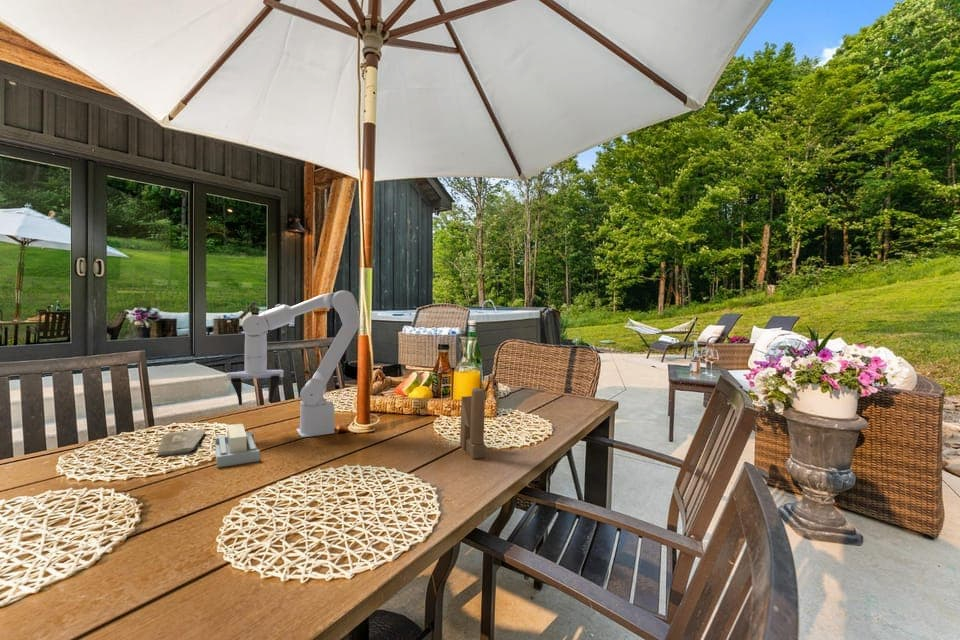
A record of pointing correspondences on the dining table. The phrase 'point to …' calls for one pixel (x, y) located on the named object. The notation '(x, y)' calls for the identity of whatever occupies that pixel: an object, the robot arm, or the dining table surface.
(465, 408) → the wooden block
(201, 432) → the stone
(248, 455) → the tray
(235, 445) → the clay bar
